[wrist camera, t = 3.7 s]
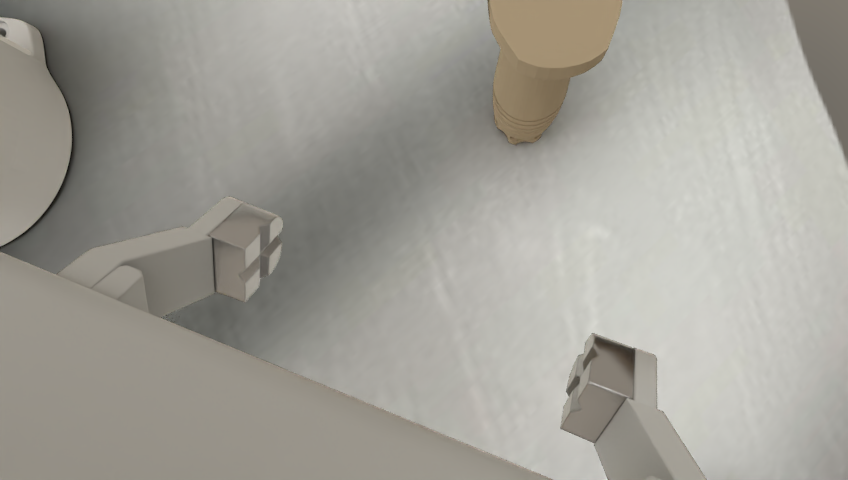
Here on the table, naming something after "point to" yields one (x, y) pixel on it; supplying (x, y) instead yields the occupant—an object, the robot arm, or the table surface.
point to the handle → (544, 57)
